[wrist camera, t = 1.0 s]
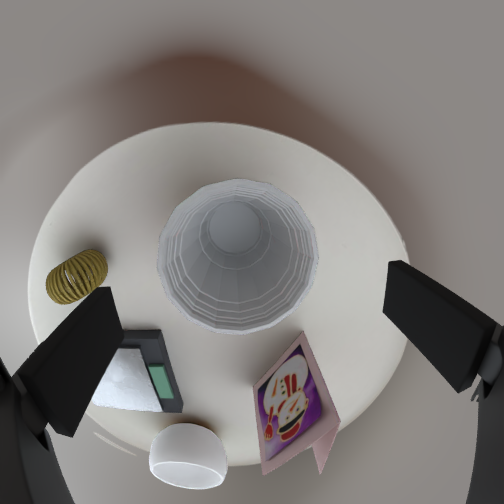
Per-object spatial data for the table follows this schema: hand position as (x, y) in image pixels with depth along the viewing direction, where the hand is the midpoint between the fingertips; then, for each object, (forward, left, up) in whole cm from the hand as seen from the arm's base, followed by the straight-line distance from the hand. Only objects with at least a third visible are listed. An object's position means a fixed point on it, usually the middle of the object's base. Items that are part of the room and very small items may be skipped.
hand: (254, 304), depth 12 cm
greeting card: (+20, +6, -18) cm, 28 cm away
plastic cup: (0, 0, -18) cm, 18 cm away
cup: (+34, -11, -18) cm, 40 cm away
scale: (+19, -18, -18) cm, 32 cm away
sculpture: (+3, -18, -18) cm, 26 cm away
